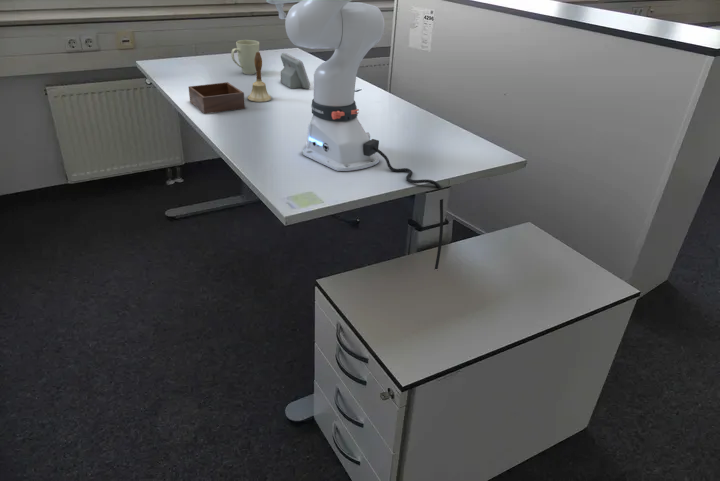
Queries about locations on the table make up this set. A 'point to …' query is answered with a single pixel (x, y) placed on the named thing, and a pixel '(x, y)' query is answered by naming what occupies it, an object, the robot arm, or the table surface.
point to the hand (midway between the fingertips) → (293, 17)
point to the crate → (216, 97)
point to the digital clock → (293, 72)
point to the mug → (246, 55)
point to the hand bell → (259, 83)
